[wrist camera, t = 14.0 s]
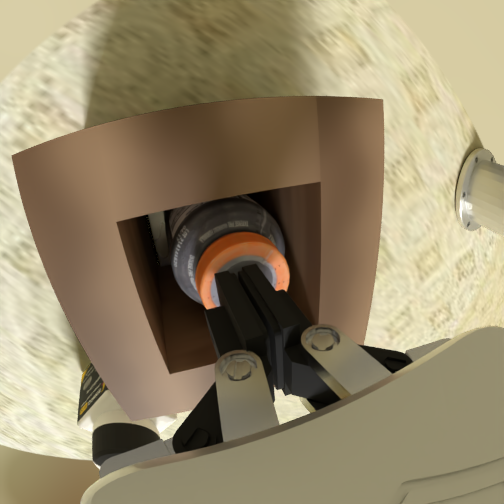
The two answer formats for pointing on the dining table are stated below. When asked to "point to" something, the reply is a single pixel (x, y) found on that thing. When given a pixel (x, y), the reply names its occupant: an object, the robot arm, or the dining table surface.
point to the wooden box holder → (192, 192)
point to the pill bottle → (223, 245)
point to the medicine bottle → (113, 421)
